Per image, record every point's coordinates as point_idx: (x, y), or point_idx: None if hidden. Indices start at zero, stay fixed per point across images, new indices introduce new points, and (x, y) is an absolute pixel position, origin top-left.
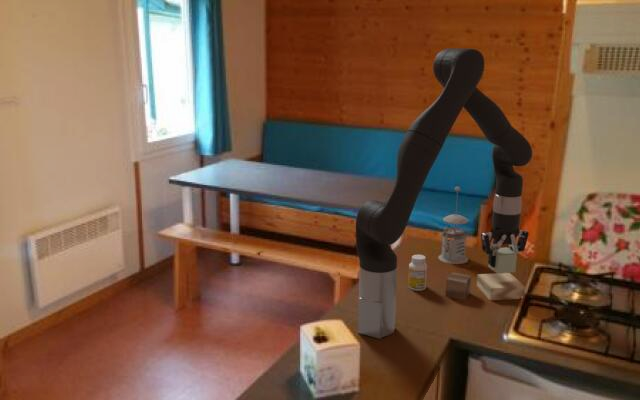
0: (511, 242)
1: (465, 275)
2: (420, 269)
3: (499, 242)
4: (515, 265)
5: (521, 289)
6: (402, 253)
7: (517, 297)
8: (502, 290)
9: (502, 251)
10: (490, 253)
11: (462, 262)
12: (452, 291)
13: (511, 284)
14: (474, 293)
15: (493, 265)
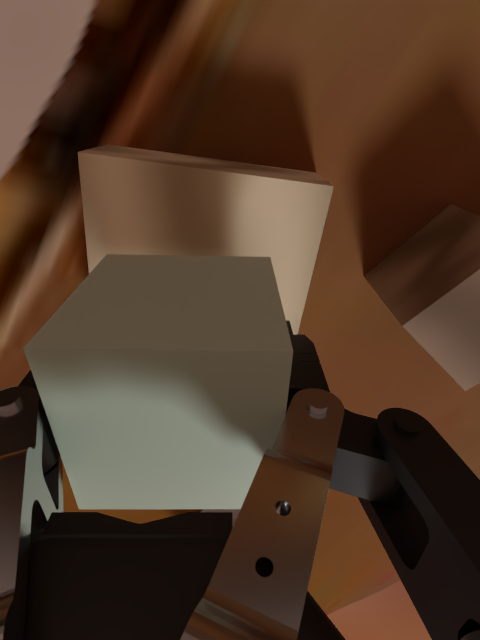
0: (27, 544)
1: (430, 340)
2: None
3: (297, 563)
4: (90, 278)
5: (109, 152)
6: (375, 577)
7: (145, 150)
8: (246, 172)
9: (179, 442)
10: (352, 422)
11: (221, 509)
12: None
13: (159, 212)
14: (343, 269)
15: (290, 327)
